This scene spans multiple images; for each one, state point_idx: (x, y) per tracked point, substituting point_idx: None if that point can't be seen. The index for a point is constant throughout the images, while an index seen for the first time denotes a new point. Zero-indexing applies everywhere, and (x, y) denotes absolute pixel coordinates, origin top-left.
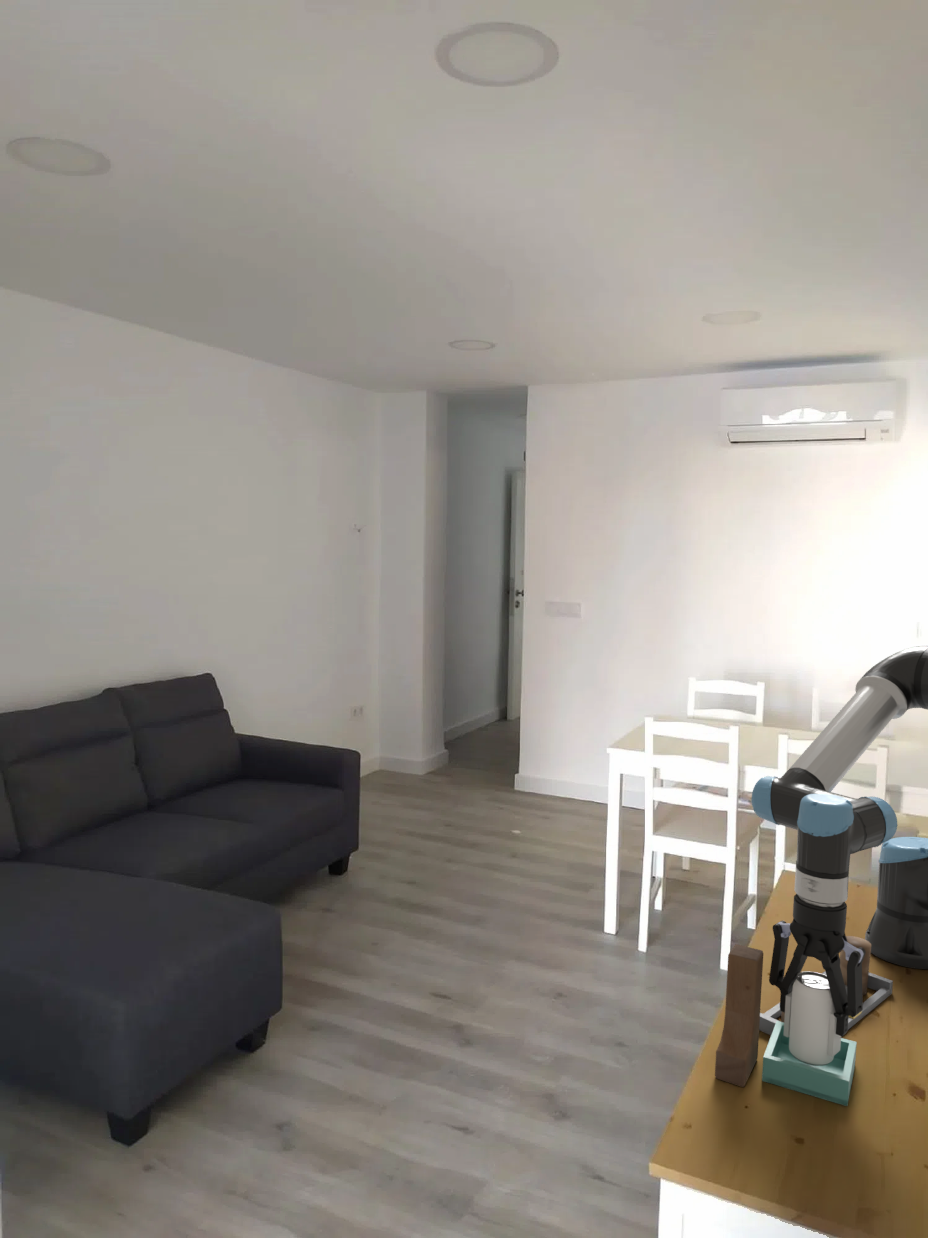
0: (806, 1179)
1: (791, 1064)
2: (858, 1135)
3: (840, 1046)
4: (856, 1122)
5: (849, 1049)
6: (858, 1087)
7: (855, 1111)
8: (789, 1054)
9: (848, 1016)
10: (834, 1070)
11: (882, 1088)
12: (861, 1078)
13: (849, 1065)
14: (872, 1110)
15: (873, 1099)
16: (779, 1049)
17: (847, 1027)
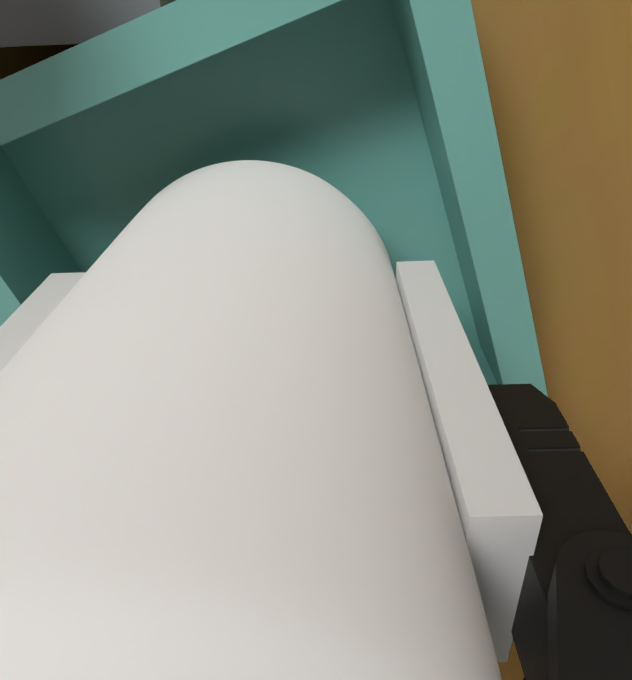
0: (517, 673)
1: None
2: (595, 464)
3: (438, 272)
4: (571, 408)
5: (442, 81)
6: (507, 157)
7: (549, 350)
8: (116, 222)
9: (625, 528)
10: (368, 166)
11: (628, 45)
12: (495, 44)
13: (510, 286)
14: (613, 289)
15: (601, 200)
16: (51, 221)
17: (567, 434)
